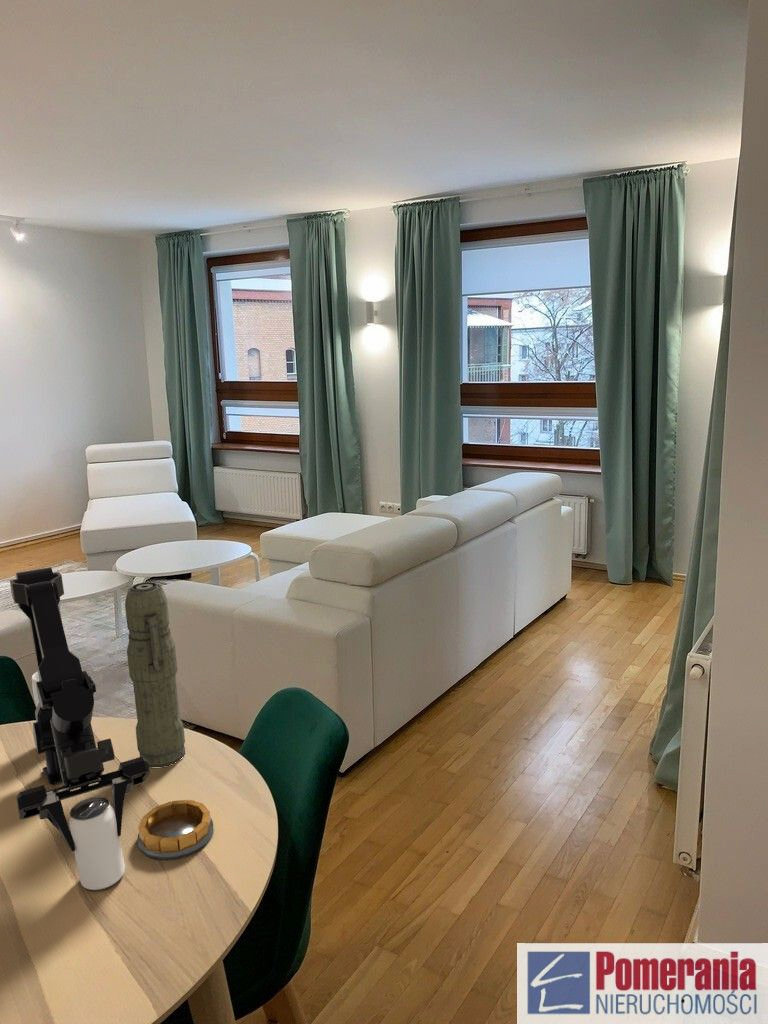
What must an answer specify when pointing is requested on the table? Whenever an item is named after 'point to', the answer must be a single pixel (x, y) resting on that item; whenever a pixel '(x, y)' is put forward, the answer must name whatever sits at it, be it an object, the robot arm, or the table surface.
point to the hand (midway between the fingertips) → (96, 843)
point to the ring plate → (175, 830)
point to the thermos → (153, 675)
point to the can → (96, 843)
